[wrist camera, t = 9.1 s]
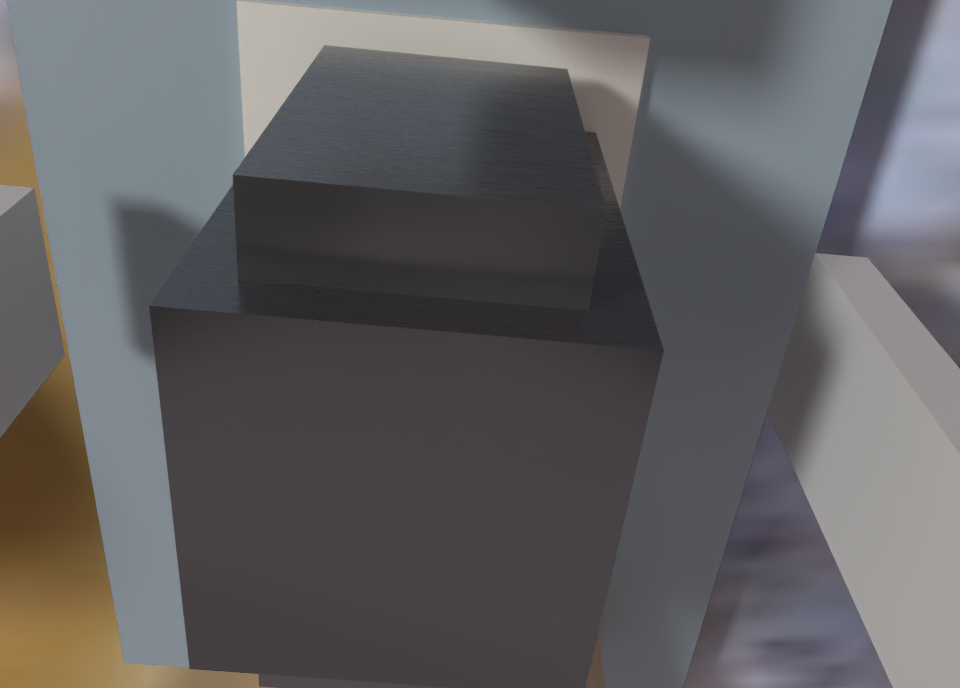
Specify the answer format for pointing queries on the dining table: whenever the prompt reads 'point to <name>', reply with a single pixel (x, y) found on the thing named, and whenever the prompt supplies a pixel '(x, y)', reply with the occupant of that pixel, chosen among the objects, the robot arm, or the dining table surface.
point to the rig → (634, 176)
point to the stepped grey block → (406, 384)
